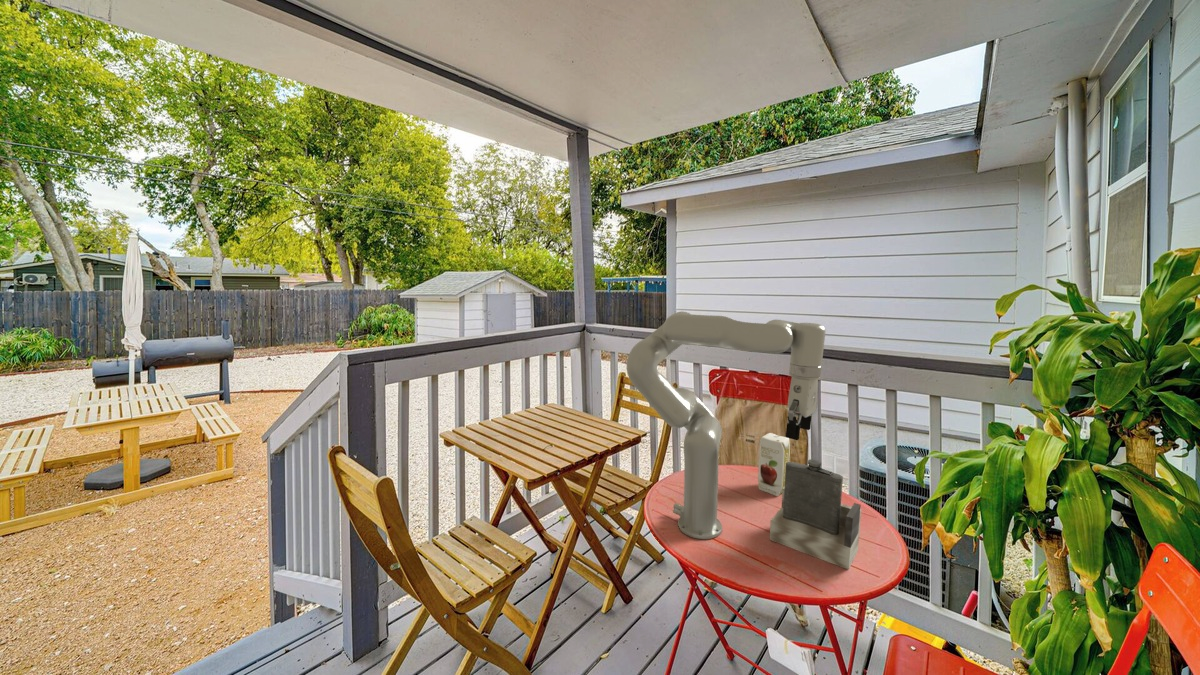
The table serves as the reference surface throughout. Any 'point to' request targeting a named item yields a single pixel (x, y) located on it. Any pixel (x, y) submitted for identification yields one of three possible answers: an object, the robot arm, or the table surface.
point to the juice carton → (773, 463)
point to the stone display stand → (821, 536)
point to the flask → (813, 496)
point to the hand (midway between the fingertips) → (798, 433)
